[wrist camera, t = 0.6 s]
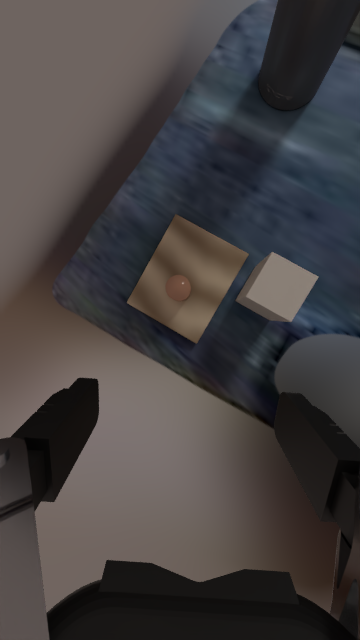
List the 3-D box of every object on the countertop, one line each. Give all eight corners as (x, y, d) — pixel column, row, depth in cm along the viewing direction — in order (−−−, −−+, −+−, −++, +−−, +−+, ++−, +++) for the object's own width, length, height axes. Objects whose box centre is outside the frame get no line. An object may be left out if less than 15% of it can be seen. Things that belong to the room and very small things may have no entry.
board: (176, 216, 37) (175, 214, 36) (247, 255, 36) (248, 254, 35) (128, 303, 38) (126, 302, 37) (196, 342, 37) (196, 343, 36)
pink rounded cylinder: (175, 274, 36) (173, 270, 33) (195, 285, 36) (195, 282, 32) (164, 294, 36) (160, 292, 33) (184, 305, 36) (182, 304, 33)
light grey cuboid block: (255, 266, 36) (272, 251, 28) (290, 285, 36) (318, 276, 27) (235, 300, 36) (245, 296, 28) (269, 320, 36) (291, 321, 28)
